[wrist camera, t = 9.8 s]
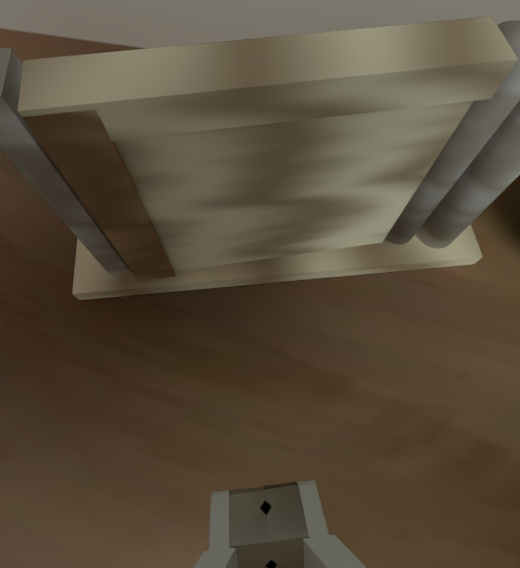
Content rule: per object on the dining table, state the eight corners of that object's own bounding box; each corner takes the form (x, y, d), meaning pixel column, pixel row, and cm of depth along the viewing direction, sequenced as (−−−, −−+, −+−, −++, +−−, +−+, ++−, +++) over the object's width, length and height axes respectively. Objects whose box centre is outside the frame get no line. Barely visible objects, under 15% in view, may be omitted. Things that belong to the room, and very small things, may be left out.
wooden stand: (436, 162, 26) (612, -106, 13) (473, 264, 23) (748, 43, 10) (89, 188, 25) (-86, -81, 12) (79, 300, 22) (-168, 98, 9)
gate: (407, 213, 23) (543, 11, 12) (418, 241, 22) (573, 53, 11) (137, 249, 21) (23, 60, 11) (139, 281, 21) (17, 110, 10)
